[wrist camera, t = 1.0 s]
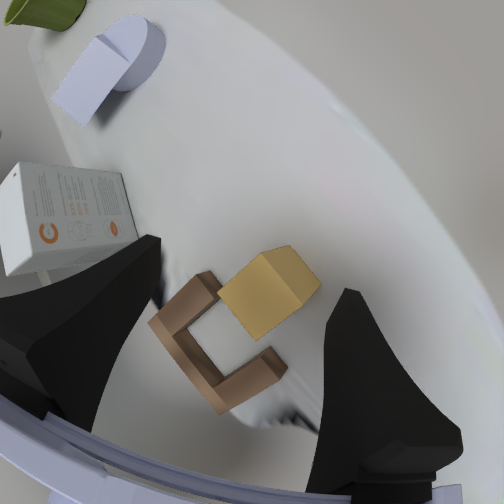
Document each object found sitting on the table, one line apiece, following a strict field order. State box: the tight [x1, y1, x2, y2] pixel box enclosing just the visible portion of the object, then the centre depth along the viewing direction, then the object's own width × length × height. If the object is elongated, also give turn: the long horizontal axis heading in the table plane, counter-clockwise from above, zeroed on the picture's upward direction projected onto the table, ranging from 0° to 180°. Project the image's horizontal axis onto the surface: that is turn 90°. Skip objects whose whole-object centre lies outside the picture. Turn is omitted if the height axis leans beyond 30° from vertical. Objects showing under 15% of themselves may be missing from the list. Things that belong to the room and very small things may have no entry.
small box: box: [0, 162, 138, 276], centre depth 27 cm, size 8×6×13 cm
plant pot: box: [3, 0, 86, 31], centre depth 30 cm, size 12×12×11 cm
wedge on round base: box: [51, 15, 165, 127], centre depth 28 cm, size 9×7×13 cm
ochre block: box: [217, 245, 322, 341], centre depth 23 cm, size 4×4×7 cm
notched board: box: [148, 271, 288, 415], centre depth 28 cm, size 11×8×2 cm
